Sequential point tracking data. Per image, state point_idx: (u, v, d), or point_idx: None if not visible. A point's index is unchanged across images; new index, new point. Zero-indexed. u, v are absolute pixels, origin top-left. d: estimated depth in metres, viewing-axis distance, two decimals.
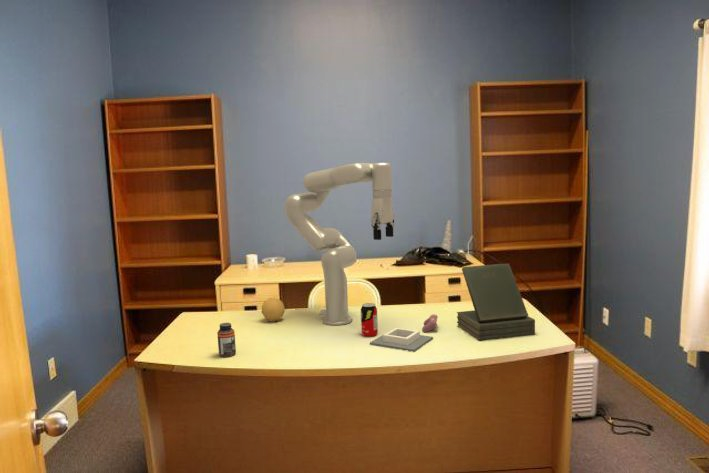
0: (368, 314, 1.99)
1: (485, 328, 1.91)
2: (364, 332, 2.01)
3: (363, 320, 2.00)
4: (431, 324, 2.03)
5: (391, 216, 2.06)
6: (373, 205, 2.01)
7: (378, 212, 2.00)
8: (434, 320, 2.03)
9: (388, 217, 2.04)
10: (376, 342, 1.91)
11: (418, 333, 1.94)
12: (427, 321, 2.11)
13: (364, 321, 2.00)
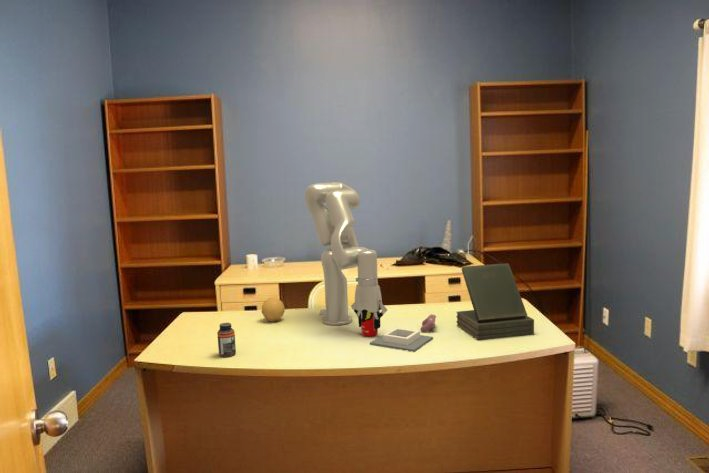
0: (368, 314, 1.99)
1: (484, 328, 1.92)
2: (364, 332, 2.00)
3: (363, 320, 2.00)
4: (429, 324, 2.03)
5: None
6: (377, 293, 1.97)
7: (380, 299, 1.99)
8: (432, 320, 2.03)
9: None
10: (376, 342, 1.91)
11: (418, 333, 1.94)
12: (425, 321, 2.11)
13: (364, 320, 2.00)
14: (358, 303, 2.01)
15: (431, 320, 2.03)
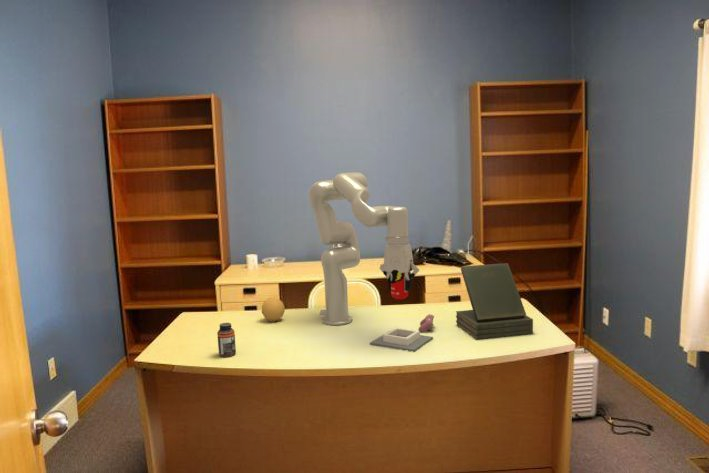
0: (399, 275, 1.87)
1: (483, 327, 1.92)
2: (394, 294, 1.89)
3: (393, 281, 1.89)
4: (427, 324, 2.03)
5: None
6: (408, 252, 1.86)
7: (412, 259, 1.88)
8: (430, 320, 2.03)
9: None
10: (376, 342, 1.91)
11: (418, 333, 1.94)
12: (423, 321, 2.11)
13: (394, 282, 1.88)
14: (388, 264, 1.89)
15: (429, 320, 2.03)
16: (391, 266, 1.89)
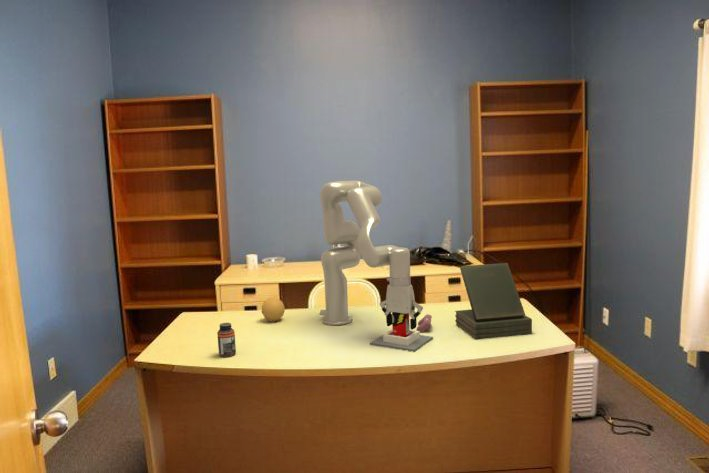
0: (400, 318, 1.89)
1: (481, 327, 1.93)
2: None
3: (395, 324, 1.90)
4: (425, 324, 2.03)
5: None
6: (410, 293, 1.87)
7: (413, 299, 1.90)
8: (428, 320, 2.03)
9: None
10: (376, 342, 1.91)
11: (418, 333, 1.94)
12: (421, 321, 2.11)
13: (396, 325, 1.90)
14: (390, 304, 1.91)
15: (427, 320, 2.03)
16: (393, 306, 1.90)
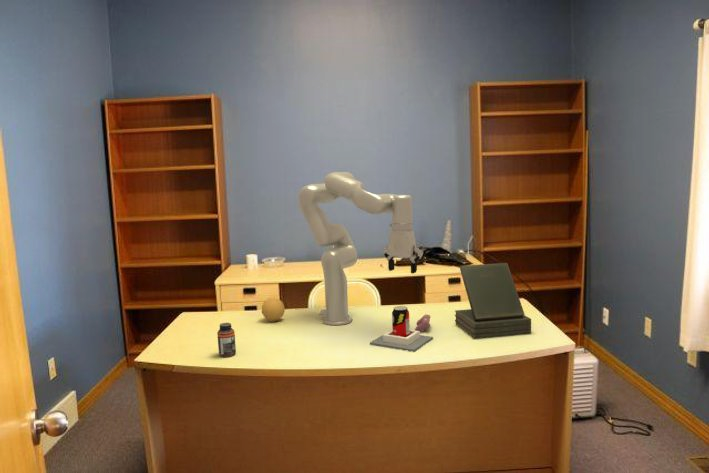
0: (400, 318, 1.89)
1: (480, 326, 1.93)
2: None
3: (395, 324, 1.91)
4: (423, 324, 2.03)
5: None
6: (411, 238, 1.95)
7: (414, 245, 1.97)
8: (427, 320, 2.03)
9: None
10: (376, 342, 1.91)
11: (418, 333, 1.94)
12: (420, 321, 2.11)
13: (396, 325, 1.90)
14: (392, 249, 1.99)
15: (426, 320, 2.03)
16: (395, 251, 1.98)
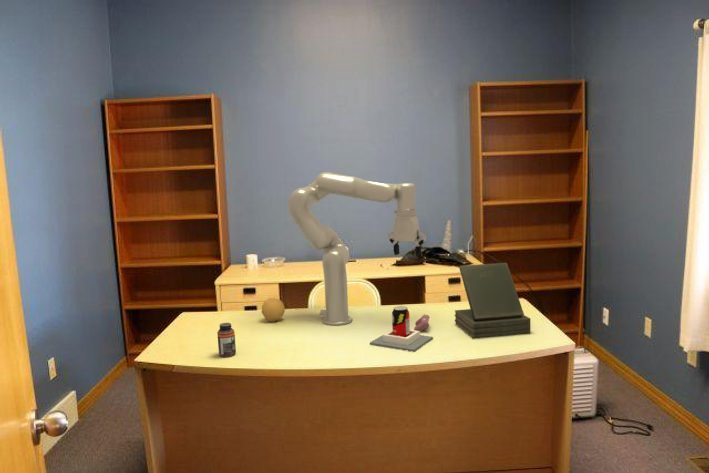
0: (400, 318, 1.89)
1: (480, 326, 1.94)
2: None
3: (395, 324, 1.91)
4: (422, 324, 2.03)
5: None
6: (415, 223, 2.10)
7: (418, 229, 2.12)
8: (426, 320, 2.03)
9: None
10: (376, 342, 1.91)
11: (418, 333, 1.94)
12: (419, 321, 2.11)
13: (396, 325, 1.90)
14: (397, 234, 2.13)
15: (424, 320, 2.03)
16: (400, 236, 2.12)
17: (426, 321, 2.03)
